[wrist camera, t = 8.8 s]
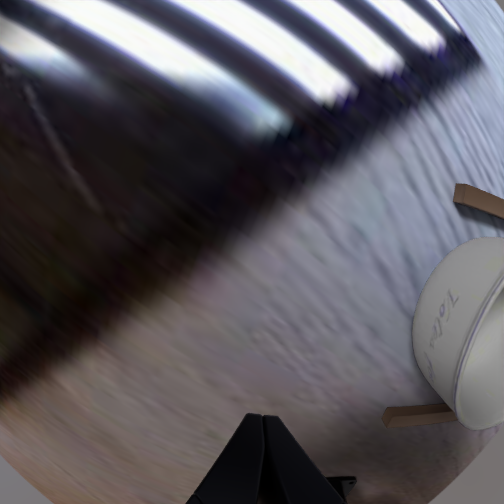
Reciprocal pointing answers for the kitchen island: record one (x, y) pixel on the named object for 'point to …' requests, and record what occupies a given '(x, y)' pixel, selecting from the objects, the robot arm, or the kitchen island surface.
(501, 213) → the frame
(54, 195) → the kitchen island surface
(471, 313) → the teacup
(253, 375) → the kitchen island surface
